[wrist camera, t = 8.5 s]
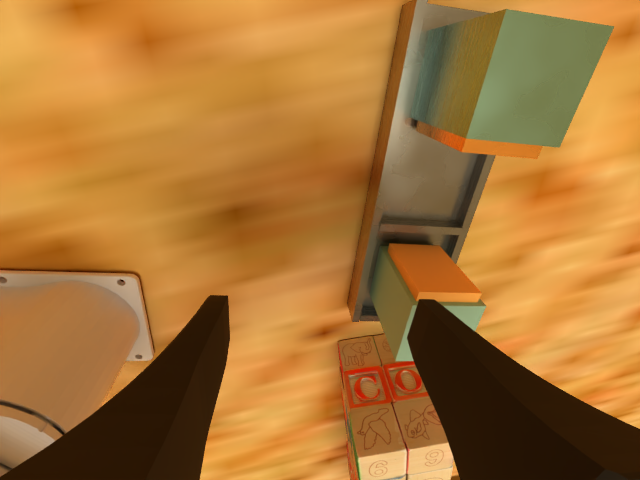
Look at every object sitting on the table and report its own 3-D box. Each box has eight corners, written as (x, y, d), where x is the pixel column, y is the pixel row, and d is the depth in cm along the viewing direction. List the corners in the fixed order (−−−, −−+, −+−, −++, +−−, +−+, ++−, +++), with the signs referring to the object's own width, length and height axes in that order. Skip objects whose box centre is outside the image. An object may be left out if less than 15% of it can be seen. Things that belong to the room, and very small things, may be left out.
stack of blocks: (334, 338, 26) (369, 523, 16) (407, 327, 27) (491, 502, 16) (348, 468, 37) (375, 634, 26) (400, 460, 37) (448, 620, 26)
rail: (347, 303, 24) (369, 384, 18) (402, 5, 16) (482, -38, 9) (424, 304, 25) (470, 382, 19) (518, 23, 17) (662, -5, 10)
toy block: (369, 293, 23) (395, 361, 17) (381, 238, 21) (415, 295, 15) (421, 294, 23) (461, 360, 18) (438, 240, 21) (490, 296, 16)
